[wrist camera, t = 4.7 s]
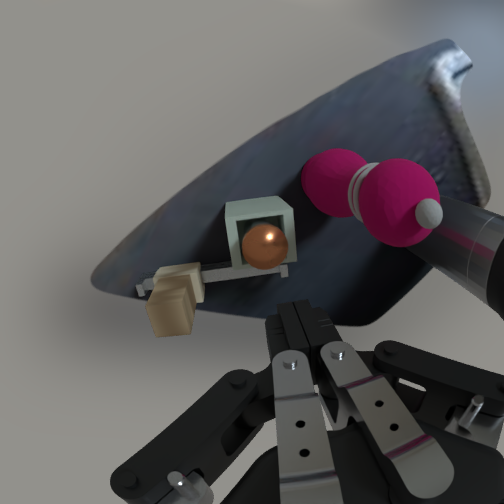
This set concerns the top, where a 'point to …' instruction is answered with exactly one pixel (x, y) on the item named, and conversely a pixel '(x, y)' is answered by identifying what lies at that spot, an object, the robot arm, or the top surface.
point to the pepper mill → (375, 194)
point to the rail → (214, 274)
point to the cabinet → (258, 208)
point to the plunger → (263, 244)
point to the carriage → (175, 299)
